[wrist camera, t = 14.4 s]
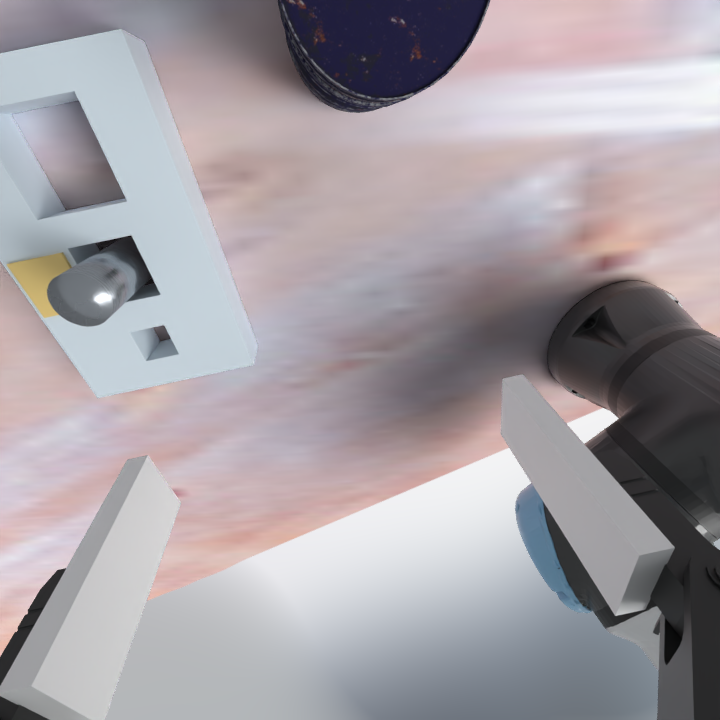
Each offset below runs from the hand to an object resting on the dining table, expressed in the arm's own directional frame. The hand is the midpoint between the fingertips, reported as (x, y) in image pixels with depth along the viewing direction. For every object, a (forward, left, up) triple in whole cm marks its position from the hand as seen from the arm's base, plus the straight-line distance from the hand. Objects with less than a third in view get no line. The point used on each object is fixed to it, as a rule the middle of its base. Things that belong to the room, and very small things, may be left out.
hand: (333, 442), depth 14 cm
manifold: (+17, -4, -26) cm, 32 cm away
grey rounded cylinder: (+17, -3, -26) cm, 31 cm away
